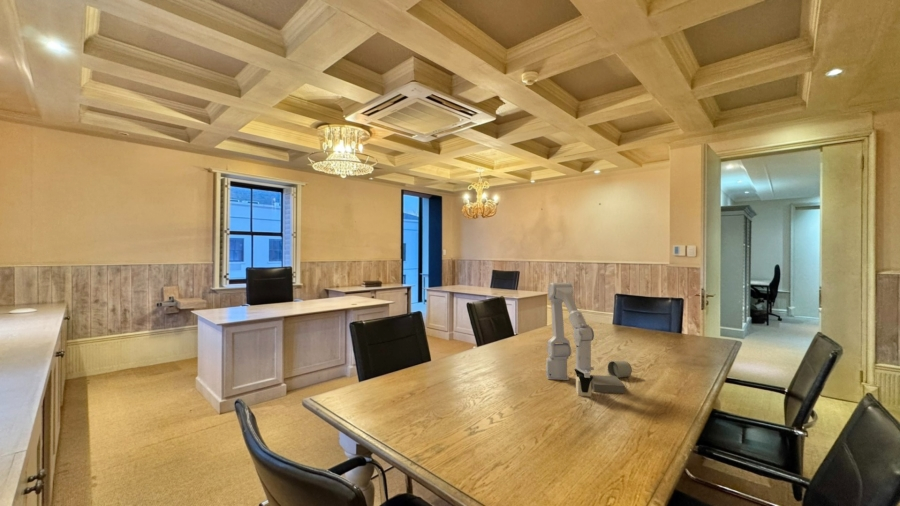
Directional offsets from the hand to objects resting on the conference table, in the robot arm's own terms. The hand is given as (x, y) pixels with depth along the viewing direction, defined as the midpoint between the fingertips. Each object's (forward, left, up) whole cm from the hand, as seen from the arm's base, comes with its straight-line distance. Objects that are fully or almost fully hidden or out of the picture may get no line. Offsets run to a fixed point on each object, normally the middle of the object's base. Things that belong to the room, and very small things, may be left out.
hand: (583, 389), depth 150 cm
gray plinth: (+11, +9, -2) cm, 14 cm away
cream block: (0, 0, -2) cm, 2 cm away
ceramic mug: (+20, +25, -2) cm, 32 cm away
